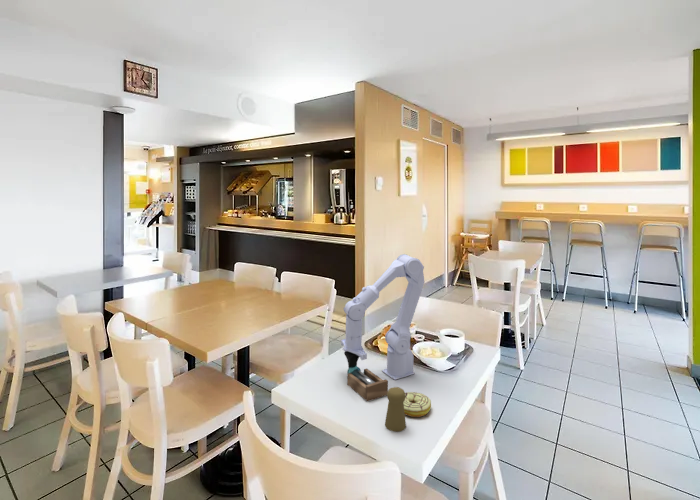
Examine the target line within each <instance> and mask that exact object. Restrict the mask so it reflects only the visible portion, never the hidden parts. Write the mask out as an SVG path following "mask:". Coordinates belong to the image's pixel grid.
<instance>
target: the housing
mask: <svg viewBox="0 0 700 500" xmlns="http://www.w3.org/2000/svg"><path fill="white" fill-rule="evenodd" d="M363 374H365V375H366V376H367V377H369V378H370V379H371V380H373V381H374V382H375V383H372V384H369V385H365V384H364V383H363V382H361V381H360V380H359V379H357V378H356V377H355V376H354V375H352V374H351V373H349V374H347V376H346V377H347V382H346V383H347V386H349V388H351V389H352V390H353V391H354V392H355V393H357V395H359V396H360V397H362V398H363V399H364V400H365V401H366V402H367V403H368V402H371V401H374V400H377V399H379V398H384V397H387V392H388V390H389V389H388V388H389V381H388V380H387V379H386V378H385V379H382V378H381V377H379V376H378V375H377V374H376V373H373V372H372V371H371V370H370V369H368V368H364V369H363Z"/></svg>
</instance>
